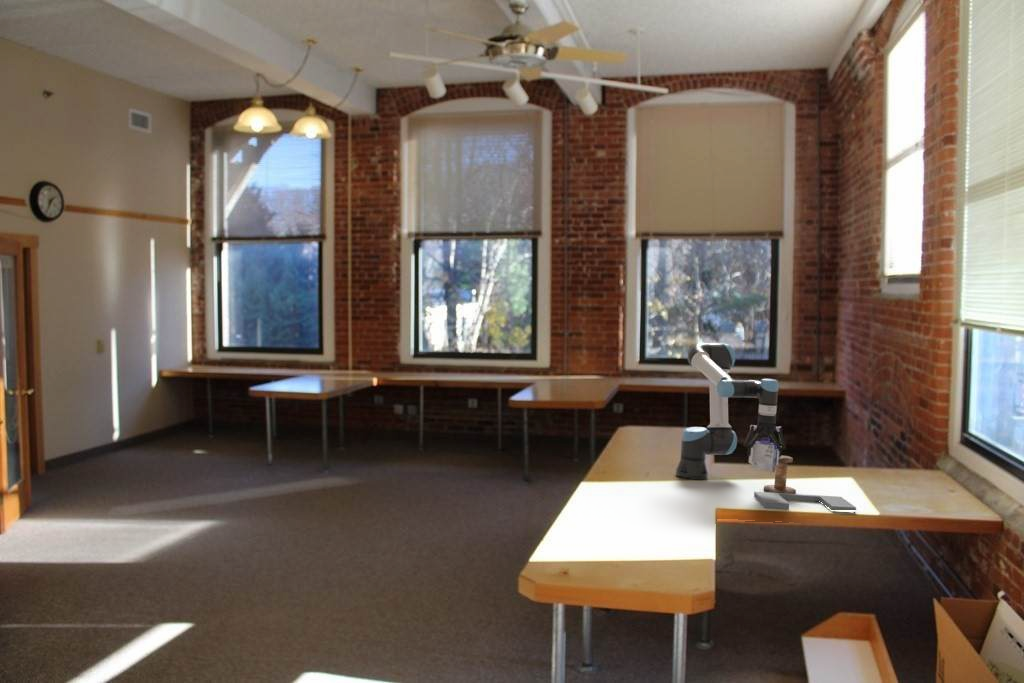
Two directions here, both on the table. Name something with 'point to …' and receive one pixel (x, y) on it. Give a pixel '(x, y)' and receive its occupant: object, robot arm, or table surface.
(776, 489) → the bobbin
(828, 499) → the notched board
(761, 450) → the ink cartridge box
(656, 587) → the table surface
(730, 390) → the robot arm
